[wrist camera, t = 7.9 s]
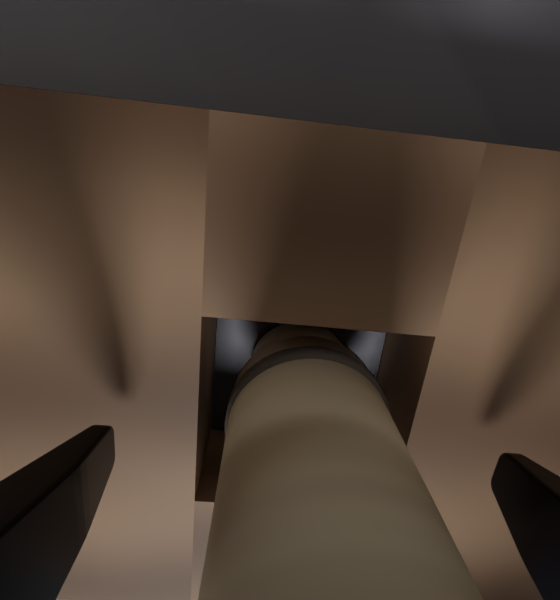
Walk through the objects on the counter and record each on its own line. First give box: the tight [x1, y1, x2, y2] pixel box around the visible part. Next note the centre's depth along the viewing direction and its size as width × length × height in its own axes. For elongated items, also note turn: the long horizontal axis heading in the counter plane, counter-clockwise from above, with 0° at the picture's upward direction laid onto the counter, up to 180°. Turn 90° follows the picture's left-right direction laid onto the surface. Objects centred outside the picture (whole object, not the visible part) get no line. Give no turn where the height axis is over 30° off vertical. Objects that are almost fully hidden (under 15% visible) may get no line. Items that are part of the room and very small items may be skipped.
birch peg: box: [198, 324, 483, 600], centre depth 8 cm, size 4×4×9 cm
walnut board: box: [0, 84, 560, 600], centre depth 11 cm, size 14×20×3 cm
